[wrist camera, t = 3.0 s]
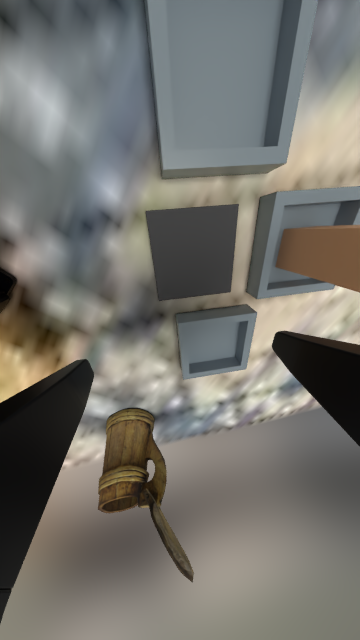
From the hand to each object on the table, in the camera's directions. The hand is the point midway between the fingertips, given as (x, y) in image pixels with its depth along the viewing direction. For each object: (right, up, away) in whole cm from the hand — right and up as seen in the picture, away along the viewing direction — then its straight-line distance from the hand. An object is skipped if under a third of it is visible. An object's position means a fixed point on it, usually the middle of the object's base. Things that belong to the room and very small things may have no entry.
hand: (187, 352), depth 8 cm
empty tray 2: (+4, -1, +16) cm, 17 cm away
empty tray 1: (+3, +19, +4) cm, 20 cm away
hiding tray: (+13, +10, +11) cm, 20 cm away
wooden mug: (-8, -18, +24) cm, 31 cm away
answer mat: (+1, +9, +10) cm, 13 cm away
